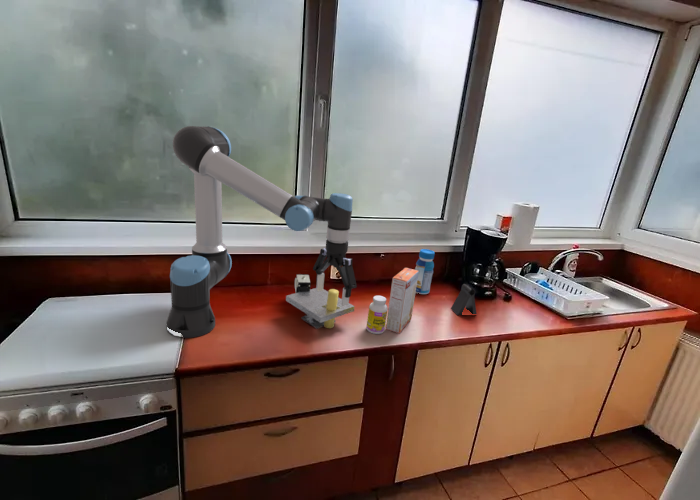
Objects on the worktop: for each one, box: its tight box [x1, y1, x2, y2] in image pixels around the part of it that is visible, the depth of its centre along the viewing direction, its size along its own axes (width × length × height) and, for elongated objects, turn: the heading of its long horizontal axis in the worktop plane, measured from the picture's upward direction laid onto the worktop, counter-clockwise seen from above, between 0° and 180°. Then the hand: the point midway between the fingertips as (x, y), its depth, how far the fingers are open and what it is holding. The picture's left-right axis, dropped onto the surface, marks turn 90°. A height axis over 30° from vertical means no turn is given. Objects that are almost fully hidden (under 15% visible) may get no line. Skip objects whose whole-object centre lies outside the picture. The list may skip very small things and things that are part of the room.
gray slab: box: [285, 287, 355, 330], centre depth 140 cm, size 16×20×8 cm
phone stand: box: [450, 283, 478, 316], centre depth 160 cm, size 9×6×12 cm, turn 103°
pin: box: [323, 288, 340, 329], centre depth 134 cm, size 4×4×14 cm
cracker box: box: [385, 267, 419, 334], centre depth 142 cm, size 14×6×21 cm, turn 152°
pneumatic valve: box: [294, 273, 311, 293], centre depth 151 cm, size 6×12×12 cm, turn 12°
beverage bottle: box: [414, 248, 436, 295], centre depth 176 cm, size 8×8×20 cm
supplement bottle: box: [366, 295, 389, 335], centre depth 137 cm, size 7×7×13 cm
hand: (331, 297), depth 134 cm, fingers open, 13 cm apart
